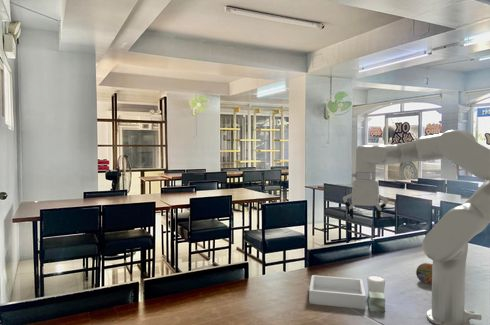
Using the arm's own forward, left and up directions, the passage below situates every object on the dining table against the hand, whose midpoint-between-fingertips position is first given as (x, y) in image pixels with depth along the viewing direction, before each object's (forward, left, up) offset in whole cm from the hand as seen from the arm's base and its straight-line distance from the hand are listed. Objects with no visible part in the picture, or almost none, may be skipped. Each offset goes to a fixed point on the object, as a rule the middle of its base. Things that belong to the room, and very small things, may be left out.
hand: (364, 219), depth 138 cm
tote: (+11, +8, -30) cm, 33 cm away
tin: (-30, -15, -30) cm, 45 cm away
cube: (-3, +14, -30) cm, 33 cm away
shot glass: (-4, +3, -30) cm, 30 cm away
